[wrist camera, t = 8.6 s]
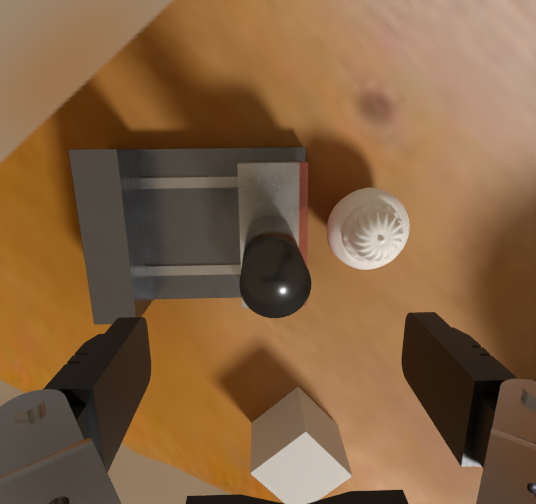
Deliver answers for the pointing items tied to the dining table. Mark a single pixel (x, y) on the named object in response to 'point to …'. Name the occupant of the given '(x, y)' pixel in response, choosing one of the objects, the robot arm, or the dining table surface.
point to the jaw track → (161, 223)
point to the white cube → (298, 450)
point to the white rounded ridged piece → (368, 228)
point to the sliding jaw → (273, 236)
